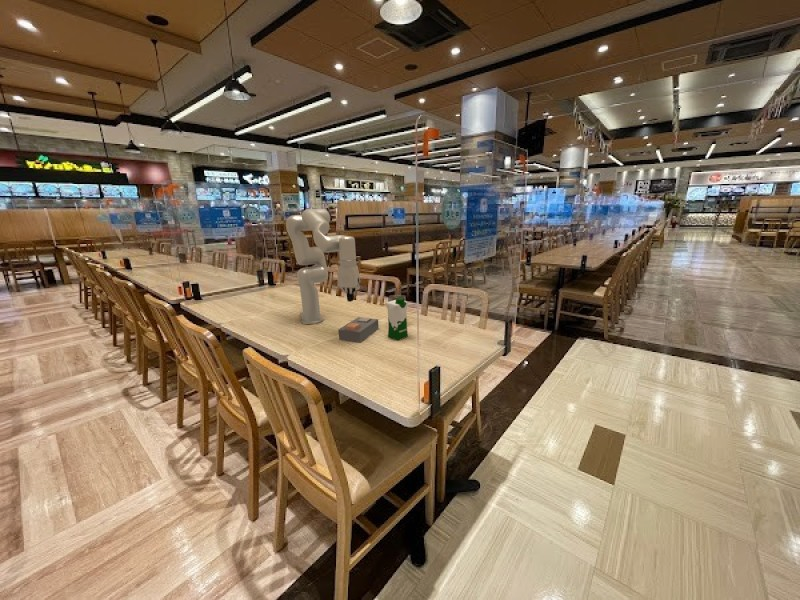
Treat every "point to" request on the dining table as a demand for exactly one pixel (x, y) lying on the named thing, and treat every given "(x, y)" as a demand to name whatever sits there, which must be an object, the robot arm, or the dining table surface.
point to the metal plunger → (364, 320)
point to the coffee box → (393, 297)
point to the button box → (358, 331)
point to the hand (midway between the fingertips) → (350, 300)
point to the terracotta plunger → (352, 326)
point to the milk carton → (397, 318)
